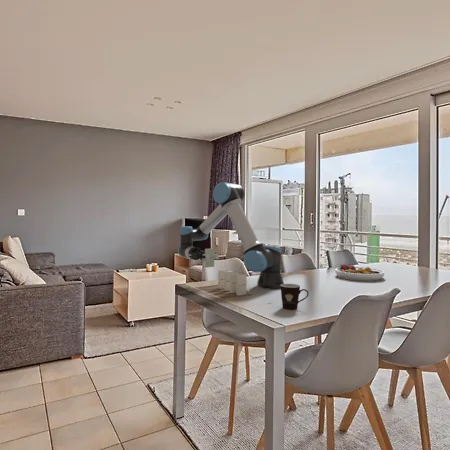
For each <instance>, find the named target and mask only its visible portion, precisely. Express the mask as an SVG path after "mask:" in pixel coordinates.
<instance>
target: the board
mask: <svg viewBox="0 0 450 450" xmlns="http://www.w3.org/2000/svg"><path fill="white" fill-rule="evenodd" d="M194 288H195V289H198V290H200V291H203V292H205V293H207V294H211V295H212V296H215V297H218V298H220V299H223V300H227V299H233V298H241V297H247V296H248V297H249V296H253V294H250V293H248V292H247V293H246V294H245V295H237V293H230V290H229V291H224V288H223V289H219V288H218V284H214V285H213V284H212V285H205V286H202V285H201V286H196V287H194Z"/></svg>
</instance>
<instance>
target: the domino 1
mask: <svg viewBox="0 0 450 450" xmlns="http://www.w3.org/2000/svg"><path fill="white" fill-rule="evenodd" d="M204 252H205V254H206V255H210V260H205V259H204V267H205V268H214V267H215V259H214V253H215V248H212V247H211V248H205V249H204Z"/></svg>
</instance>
